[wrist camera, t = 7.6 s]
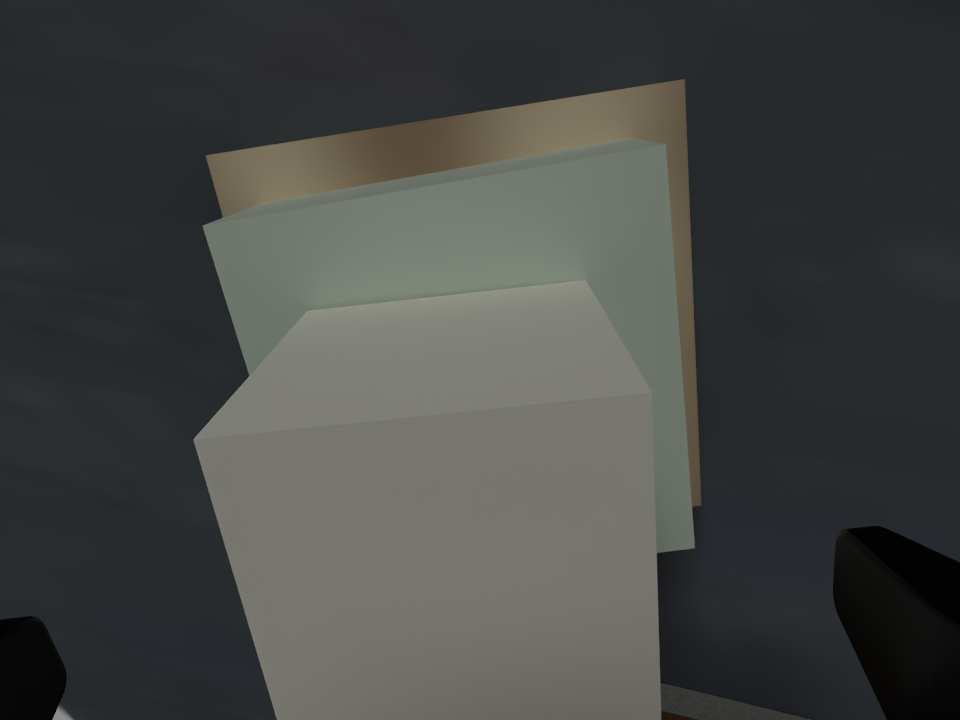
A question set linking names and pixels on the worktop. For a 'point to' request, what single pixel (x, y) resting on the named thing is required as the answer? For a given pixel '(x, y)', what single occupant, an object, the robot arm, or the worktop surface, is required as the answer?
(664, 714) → the display case
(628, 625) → the cream block
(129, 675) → the worktop surface
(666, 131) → the oak slab
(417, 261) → the sage block
